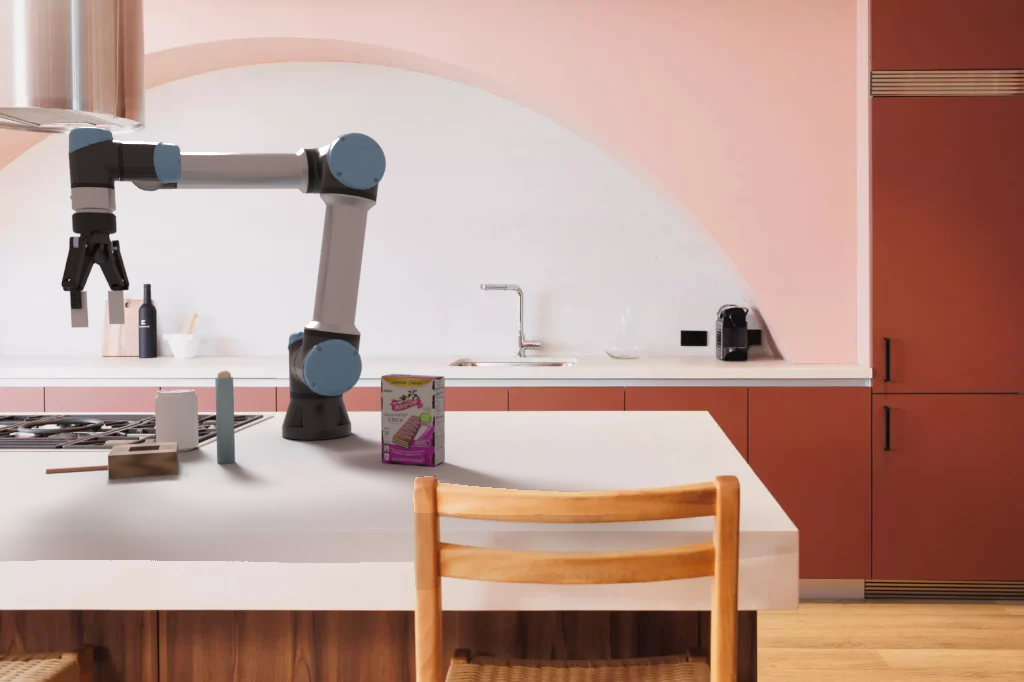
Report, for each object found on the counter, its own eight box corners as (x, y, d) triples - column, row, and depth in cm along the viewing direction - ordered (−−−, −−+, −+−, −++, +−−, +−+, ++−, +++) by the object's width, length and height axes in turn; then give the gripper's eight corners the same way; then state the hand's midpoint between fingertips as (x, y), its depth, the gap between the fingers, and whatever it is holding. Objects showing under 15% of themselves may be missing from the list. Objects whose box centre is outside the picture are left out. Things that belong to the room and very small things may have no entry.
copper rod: (108, 468, 162) (107, 465, 162) (107, 469, 161) (107, 465, 161) (46, 472, 159) (46, 468, 159) (46, 473, 158) (45, 469, 158)
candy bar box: (380, 463, 165) (379, 375, 164) (392, 458, 170) (391, 373, 169) (435, 467, 162) (434, 377, 161) (446, 462, 166) (445, 375, 165)
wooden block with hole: (178, 462, 167) (177, 441, 167) (176, 474, 156) (176, 451, 156) (114, 466, 163) (113, 445, 163) (108, 478, 153) (107, 455, 153)
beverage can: (184, 453, 176) (182, 393, 176) (147, 452, 178) (146, 392, 177) (206, 446, 184) (204, 388, 184) (171, 445, 186) (169, 388, 185)
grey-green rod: (234, 460, 169) (232, 369, 168) (235, 463, 166) (233, 370, 165) (217, 461, 168) (214, 369, 167) (217, 464, 165) (215, 371, 164)
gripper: (108, 217, 179) (112, 322, 180) (35, 207, 154) (41, 329, 155) (144, 217, 179) (148, 322, 180) (77, 206, 154) (83, 328, 155)
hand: (99, 325), depth 168 cm, fingers open, 13 cm apart
